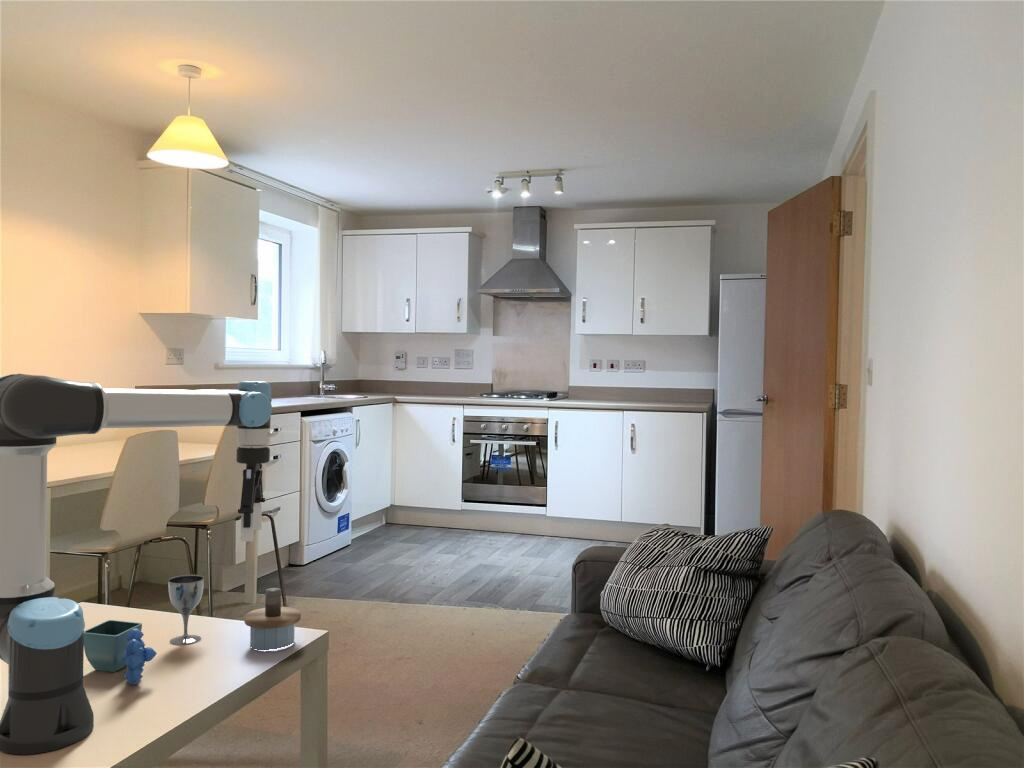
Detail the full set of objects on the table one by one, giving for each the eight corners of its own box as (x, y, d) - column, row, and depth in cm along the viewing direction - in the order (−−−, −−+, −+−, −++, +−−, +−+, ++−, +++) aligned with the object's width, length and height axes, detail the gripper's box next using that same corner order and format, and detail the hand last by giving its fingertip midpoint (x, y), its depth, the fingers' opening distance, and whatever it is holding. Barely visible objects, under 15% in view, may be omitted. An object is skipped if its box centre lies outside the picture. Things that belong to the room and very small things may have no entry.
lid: (297, 627, 185) (298, 597, 184) (239, 629, 183) (240, 598, 182) (303, 610, 197) (303, 581, 197) (249, 612, 195) (249, 583, 195)
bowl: (292, 650, 186) (292, 625, 186) (248, 652, 184) (248, 627, 184) (295, 636, 196) (296, 612, 196) (253, 638, 194) (253, 614, 194)
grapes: (155, 692, 162) (155, 633, 161) (118, 696, 159) (118, 637, 159) (157, 671, 172) (158, 616, 172) (123, 675, 170) (124, 619, 170)
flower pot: (116, 677, 169) (116, 635, 169) (80, 673, 171) (80, 632, 170) (143, 662, 177) (143, 622, 177) (108, 658, 179) (109, 619, 179)
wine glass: (197, 632, 198) (198, 572, 197) (207, 641, 191) (207, 580, 191) (164, 638, 193) (164, 577, 192) (172, 648, 186) (173, 585, 186)
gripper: (263, 451, 176) (260, 546, 176) (275, 441, 200) (273, 524, 201) (227, 451, 174) (225, 546, 175) (245, 441, 199) (243, 525, 199)
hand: (251, 535), depth 188 cm, fingers open, 13 cm apart
